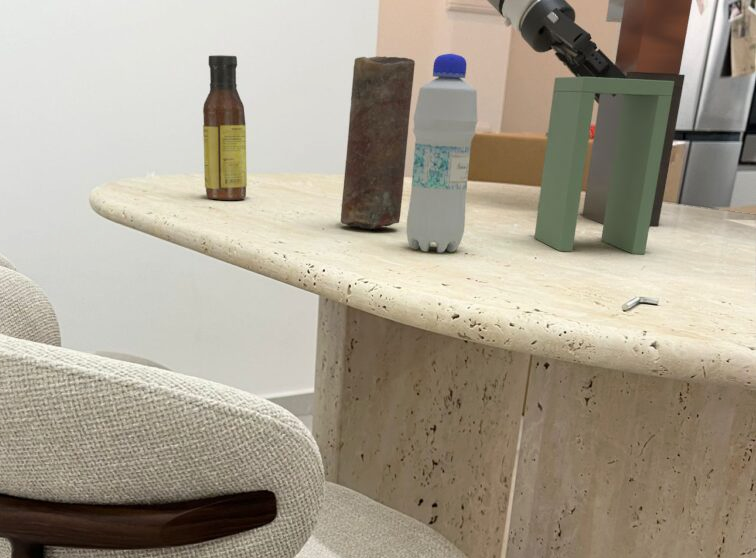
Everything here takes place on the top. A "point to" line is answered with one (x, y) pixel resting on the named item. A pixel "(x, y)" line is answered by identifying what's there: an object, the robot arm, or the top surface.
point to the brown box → (650, 34)
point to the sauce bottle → (224, 133)
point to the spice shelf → (607, 142)
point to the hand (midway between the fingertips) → (630, 109)
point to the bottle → (441, 156)
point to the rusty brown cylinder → (377, 141)
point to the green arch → (630, 165)
